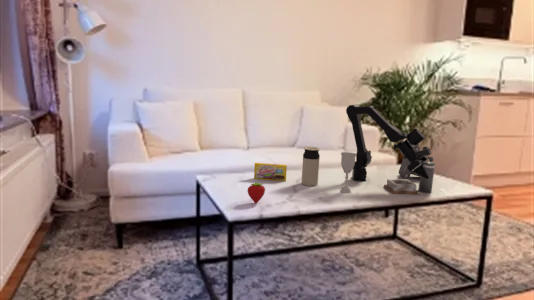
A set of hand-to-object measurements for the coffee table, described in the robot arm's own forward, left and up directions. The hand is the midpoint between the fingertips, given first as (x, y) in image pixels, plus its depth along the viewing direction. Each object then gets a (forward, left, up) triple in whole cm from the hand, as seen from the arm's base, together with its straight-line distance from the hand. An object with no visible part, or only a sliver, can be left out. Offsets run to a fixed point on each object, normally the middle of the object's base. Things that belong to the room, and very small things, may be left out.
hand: (429, 177), depth 206 cm
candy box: (-75, +16, -7) cm, 77 cm away
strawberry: (-84, -24, -7) cm, 88 cm away
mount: (-13, +1, -7) cm, 15 cm away
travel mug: (-56, +9, -7) cm, 57 cm away
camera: (+6, +29, -7) cm, 31 cm away
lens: (-1, +1, -7) cm, 7 cm away
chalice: (-41, -3, -7) cm, 42 cm away
